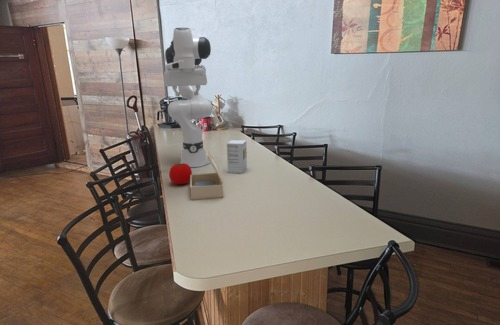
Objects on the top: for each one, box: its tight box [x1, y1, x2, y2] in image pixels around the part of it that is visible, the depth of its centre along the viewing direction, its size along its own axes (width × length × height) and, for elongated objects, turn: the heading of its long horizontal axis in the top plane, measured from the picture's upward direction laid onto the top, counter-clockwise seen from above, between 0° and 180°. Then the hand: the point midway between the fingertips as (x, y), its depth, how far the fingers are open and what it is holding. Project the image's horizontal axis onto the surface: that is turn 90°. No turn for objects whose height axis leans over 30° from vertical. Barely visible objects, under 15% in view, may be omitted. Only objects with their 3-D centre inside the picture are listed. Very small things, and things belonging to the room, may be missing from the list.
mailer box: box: [189, 172, 224, 201], centre depth 151 cm, size 18×14×6 cm
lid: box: [204, 147, 224, 185], centre depth 149 cm, size 18×14×1 cm
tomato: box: [168, 162, 193, 185], centre depth 162 cm, size 11×12×10 cm
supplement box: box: [226, 139, 248, 174], centre depth 180 cm, size 10×9×17 cm
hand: (187, 95), depth 150 cm, fingers open, 8 cm apart
